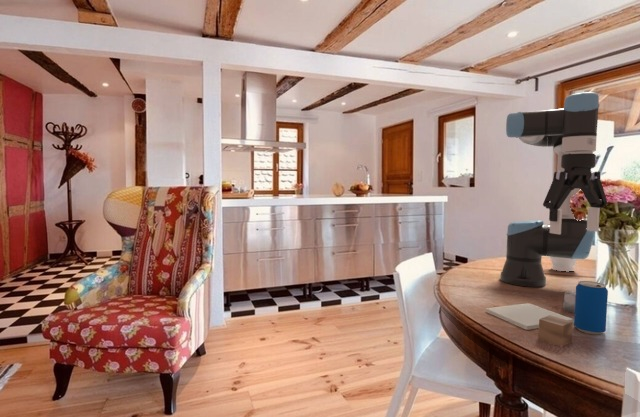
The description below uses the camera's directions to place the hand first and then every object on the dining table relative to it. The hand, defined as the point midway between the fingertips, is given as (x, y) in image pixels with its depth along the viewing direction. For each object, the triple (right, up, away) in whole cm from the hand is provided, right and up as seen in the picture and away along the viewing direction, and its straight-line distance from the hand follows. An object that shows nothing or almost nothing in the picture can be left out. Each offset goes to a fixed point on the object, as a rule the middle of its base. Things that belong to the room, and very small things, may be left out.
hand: (574, 232), depth 101 cm
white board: (-12, -24, +2) cm, 26 cm away
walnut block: (-14, -25, -13) cm, 31 cm away
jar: (+36, -20, +60) cm, 72 cm away
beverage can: (-1, -25, -7) cm, 26 cm away
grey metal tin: (+6, -23, +8) cm, 25 cm away
